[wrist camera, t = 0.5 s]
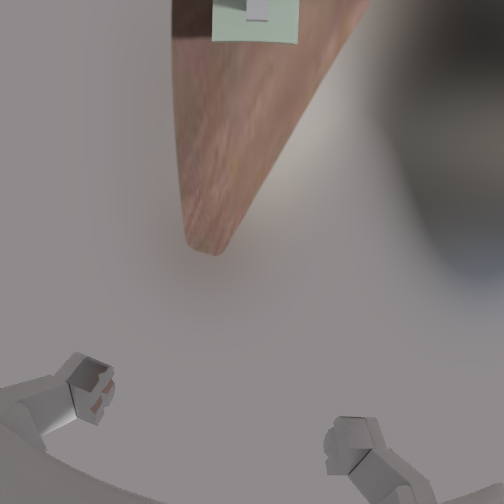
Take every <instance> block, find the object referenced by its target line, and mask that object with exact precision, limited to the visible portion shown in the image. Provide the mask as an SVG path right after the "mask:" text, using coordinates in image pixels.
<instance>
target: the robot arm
mask: <svg viewBox="0 0 504 504" xmlns="http://www.w3.org/2000/svg"><path fill="white" fill-rule="evenodd" d="M113 374H114V371H113V367H112V366H110V365H107V364H105V363H103V362H100V361H98V360H96V359H93V358H91V357H89V356H86V355H84V354H81V353H79V352H75V353H73V354H72V355H71V357H70V358H69V359H68V360H67V361H66V362H65V363H64V364H63V365H62V367H61V368H60V369H59V370H58V371H57V372H56V374H55V375H54V376H52V375H47V376H44V377H40V378H37V379H33V380H30V381H26V382H23V383H19V384H15V385H12V386H8V387H4V388H0V504H168V503H164V502H161V501H157V500H154V499H151V498H147V497H144V496H141V495H138V494H135V493H132V492H129V491H127V490H124V489H121V488H119V487H116V486H114V485H111V484H109V483H106V482H104V481H101V480H99V479H97V478H94V477H92V476H90V475H88V474H86V473H84V472H82V471H80V470H77V469H75V468H73V467H71V466H69V465H68V464H66V463H64V462H62V461H60V460H58V459H56V458H54V457H53V456H51V455H49V454H47V453H46V451H47V449H46V446H45V444H44V442H43V440H42V438H41V436H43V435H45V434H47V433H49V432H51V431H53V430H55V429H57V428H59V427H61V426H63V425H65V424H67V423H69V422H71V421H73V420H75V419H77V417H78V418H80V419H82V420H85V421H87V422H89V423H92V424H94V425H98V423H99V422H100V420H101V418H102V416H103V415H104V409H103V408H104V407H106V406H109V404H110V402H111V401H112V398H113V395H114V390H115V383H114V381H113V380H112V379H111V378H112V376H113ZM324 452H325V453H326V454H327V456H328V459H327V460H326V467H327V474H328V475H348V477H349V478H350V480H351V481H352V482H353V483H354V485H355V486H356V487H357V488H358V490H359V491H360V492H361V493H362V494H363V496H364V497H365V498H366V499H367V500H368V502H369V503H370V504H437V502H436V499H435V496H434V493H433V490H432V487H431V485H430V482H429V480H428V479H427V478H425V477H424V476H423V475H422V474H420V473H419V472H418V471H417V470H416V469H414V468H413V467H412V466H411V465H409V464H408V463H407V462H406V461H405V460H403V459H402V458H401V457H400V456H399V455H398V454H396V453H395V452H394V451H393V450H392V449H387V446H386V443H385V440H384V437H383V435H382V432H381V429H380V426H379V423H378V420H377V419H376V418H370V417H345V416H339V417H337V418H336V420H335V421H334V427H333V428H331V429H329V430H328V432H327V434H326V435H325V439H324ZM440 504H504V484H503V483H496V484H493V485H490V486H488V487H486V488H483V489H481V490H478V491H476V492H473V493H470V494H467V495H465V496H462V497H459V498H456V499H453V500H450V501H446V502H443V503H440Z"/></svg>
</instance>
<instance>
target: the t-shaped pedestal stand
mask: <svg viewBox="0 0 504 504" xmlns="http://www.w3.org/2000/svg"><path fill="white" fill-rule="evenodd" d="M298 21H299V0H213V15H212V42H262V43H280V44H292V45H295V44H297V42H298Z"/></svg>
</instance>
